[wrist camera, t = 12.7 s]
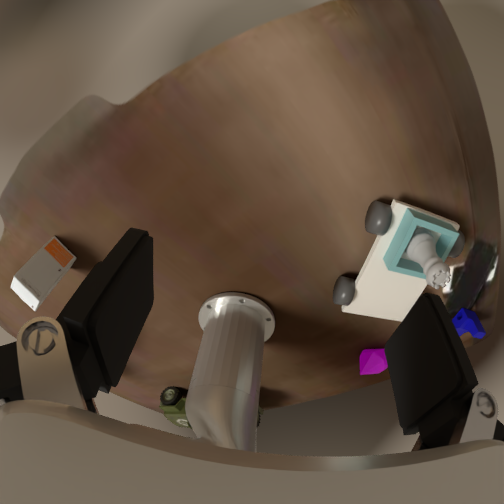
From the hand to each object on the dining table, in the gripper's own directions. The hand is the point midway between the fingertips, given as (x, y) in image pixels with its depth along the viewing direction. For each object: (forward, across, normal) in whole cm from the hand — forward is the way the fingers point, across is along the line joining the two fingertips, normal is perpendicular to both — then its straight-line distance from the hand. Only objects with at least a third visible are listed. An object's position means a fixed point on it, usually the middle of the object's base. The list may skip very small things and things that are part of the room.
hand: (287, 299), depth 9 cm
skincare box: (+26, +33, +25) cm, 49 cm away
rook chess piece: (+24, -20, +7) cm, 32 cm away
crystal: (+27, -27, +33) cm, 50 cm away
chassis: (+26, -20, +12) cm, 35 cm away
